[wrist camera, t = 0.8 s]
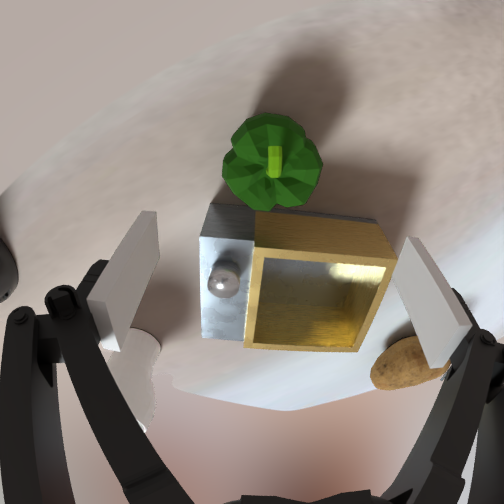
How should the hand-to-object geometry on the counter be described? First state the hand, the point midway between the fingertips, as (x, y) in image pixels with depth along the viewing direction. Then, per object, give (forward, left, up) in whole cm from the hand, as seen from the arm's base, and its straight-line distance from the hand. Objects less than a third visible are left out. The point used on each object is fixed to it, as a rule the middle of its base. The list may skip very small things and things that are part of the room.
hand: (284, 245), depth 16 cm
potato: (+26, -29, -19) cm, 43 cm away
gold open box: (+3, -14, -18) cm, 23 cm away
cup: (-18, -33, -19) cm, 42 cm away
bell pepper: (0, 0, -19) cm, 19 cm away
